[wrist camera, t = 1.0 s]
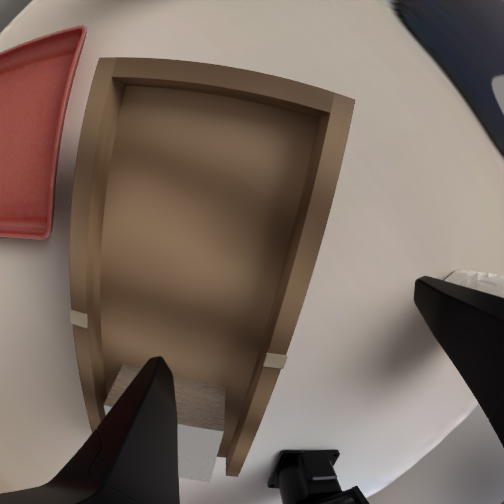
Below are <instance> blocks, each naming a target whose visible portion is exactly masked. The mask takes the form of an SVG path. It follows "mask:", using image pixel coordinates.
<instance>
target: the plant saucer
mask: <svg viewBox="0 0 504 504" xmlns="http://www.w3.org/2000/svg"><path fill="white" fill-rule="evenodd" d="M86 32H87V28H86V27H85V26H83V25H82V26H77V27H73V28H69V29H65V30H62V31H58V32H55V33H52V34H49V35H45V36H42V37H39V38H36V39H34V40H31V41H28V42H25V43H23V44H20V45H17V46H15V47H13V48H10V49H8V50H5V51H3V52H1V53H0V237H8V238H22V239H35V240H45V239H47V238H48V237H49V235H50V233H51V230H52V224H53V215H54V198H55V185H56V175H57V166H58V157H59V150H60V143H61V136H62V130H63V124H64V119H65V114H66V109H67V105H68V100H69V95H70V91H71V87H72V83H73V79H74V76H75V72H76V68H77V65H78V62H79V58H80V55H81V52H82V48H83V45H84V41H85V37H86Z"/></svg>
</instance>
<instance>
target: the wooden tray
mask: <svg viewBox="0 0 504 504" xmlns="http://www.w3.org/2000/svg"><path fill="white" fill-rule="evenodd" d="M354 104H355V100H354V99H351V98H349V97H346V96H343V95H340V94H337V93H334V92H331V91H328V90H324V89H321V88H318V87H314V86H311V85H308V84H304V83H300V82H297V81H293V80H289V79H285V78H281V77H277V76H273V75H268V74H264V73H259V72H254V71H249V70H244V69H239V68H233V67H227V66H221V65H214V64H207V63H199V62H191V61H181V60H169V59H154V58H121V57H116V58H99V61H98V64H97V67H96V71H95V74H94V78H93V81H92V85H91V89H90V93H89V97H88V101H87V105H86V110H85V115H84V119H83V124H82V129H81V135H80V141H79V146H78V153H77V160H76V167H75V175H74V184H73V194H72V206H71V222H70V293H71V309H72V310H70V311H69V314H70V323H71V324H73V331H74V340H75V348H76V355H77V362H78V368H79V374H80V380H81V385H82V390H83V395H84V400H85V405H86V409H87V413H88V418H89V422H90V425H91V429H92V433H93V432H94V430H95V429H97V426H98V425H99V424H100V423H101V421H102V420H103V419H104V417H105V416H106V415H105V409H104V403H105V401H106V399H107V397H108V395H109V392H110V390H111V388H112V386H113V384H114V382H115V380H116V378H117V376H118V374H119V372H120V369H121V367H122V365H123V364H124V365H128V366H132V367H136V368H139V369H142V367H143V366H144V365H145V364H146V362H147V361H148V360H149V359H150V358H152V357H157V356H161V357H163V358H164V360H165V362H166V363H167V365H168V367H169V368H170V370H171V372H172V374H173V376H174V377H178V378H183V379H188V380H194V381H199V382H205V383H210V384H216V385H223V386H226V389H225V413H224V433H223V436H222V440H221V443H220V447H219V450H218V454H217V457H225V458H226V476H236V477H238V475H239V473H240V470H241V468H242V466H243V464H244V461H245V459H246V457H247V454H248V452H249V450H250V447H251V445H252V442H253V440H254V438H255V435H256V433H257V430H258V428H259V425H260V423H261V420H262V418H263V415H264V413H265V410H266V407H267V405H268V402H269V400H270V397H271V394H272V392H273V389H274V386H275V384H276V381H277V378H278V376H279V373H280V370H281V368H282V369H283V368H284V365H285V362H286V359H287V355H286V353H287V350H288V347H289V345H290V342H291V339H292V336H293V333H294V330H295V327H296V324H297V321H298V318H299V315H300V312H301V308H302V305H303V302H304V299H305V296H306V293H307V289H308V286H309V283H310V280H311V276H312V273H313V270H314V266H315V263H316V259H317V256H318V252H319V249H320V245H321V242H322V238H323V235H324V231H325V227H326V224H327V220H328V216H329V213H330V209H331V205H332V201H333V197H334V193H335V189H336V185H337V181H338V177H339V173H340V169H341V164H342V160H343V156H344V151H345V147H346V142H347V138H348V133H349V128H350V124H351V119H352V114H353V109H354Z"/></svg>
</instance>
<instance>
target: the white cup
mask: <svg viewBox="0 0 504 504" xmlns="http://www.w3.org/2000/svg"><path fill="white" fill-rule="evenodd" d="M444 281H447V282H450V283H454V284H457V285H461V286H464V287H468V288H472V289H475V290H479V291H482V292H486V293H489V294H493V295H496V296H499V297H503V298H504V276H502V275H495V274H490V273H484V272H475V271H471V270H466V269H463V270H458V271H454V272H453V273H452V274H451V275H450V276H449V277H447V278H446V279H445V280H444Z"/></svg>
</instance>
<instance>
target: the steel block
mask: <svg viewBox="0 0 504 504" xmlns="http://www.w3.org/2000/svg"><path fill="white" fill-rule="evenodd" d="M140 370H141V369H139V368H136V367H132V366H128V365H124V364H123V365H122V367H121V369H120V372H119V374H118V376H117V378H116V380H115V382H114V384H113V386H112V388H111V390H110V392H109V395H108V397H107V399H106V401H105V403H104V409H105V415H107V413H108V412H109V411H110V409H111V408H112V407H113V405H114V404H115V403H116V401H117V400H118V399H119V397H120V396H121V395H122V394H123V392H124V391H125V390H126V388H127V387H128V386H129V384H130V383H131V382H132V380H133V379H134V378H135V377H136V375H137V374H138V373H139V371H140ZM173 378H174V388H175V398H176V407H177V419H178V477H181V478H187V479H193V480H199V481H207V482H210V478H211V475H212V471H213V468H214V464H215V461H216V457H217V454H218V450H219V447H220V443H221V440H222V436H223V433H224V413H225V389H226V386H223V385H216V384H210V383H205V382H199V381H194V380H188V379H183V378H178V377H174V376H173Z"/></svg>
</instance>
